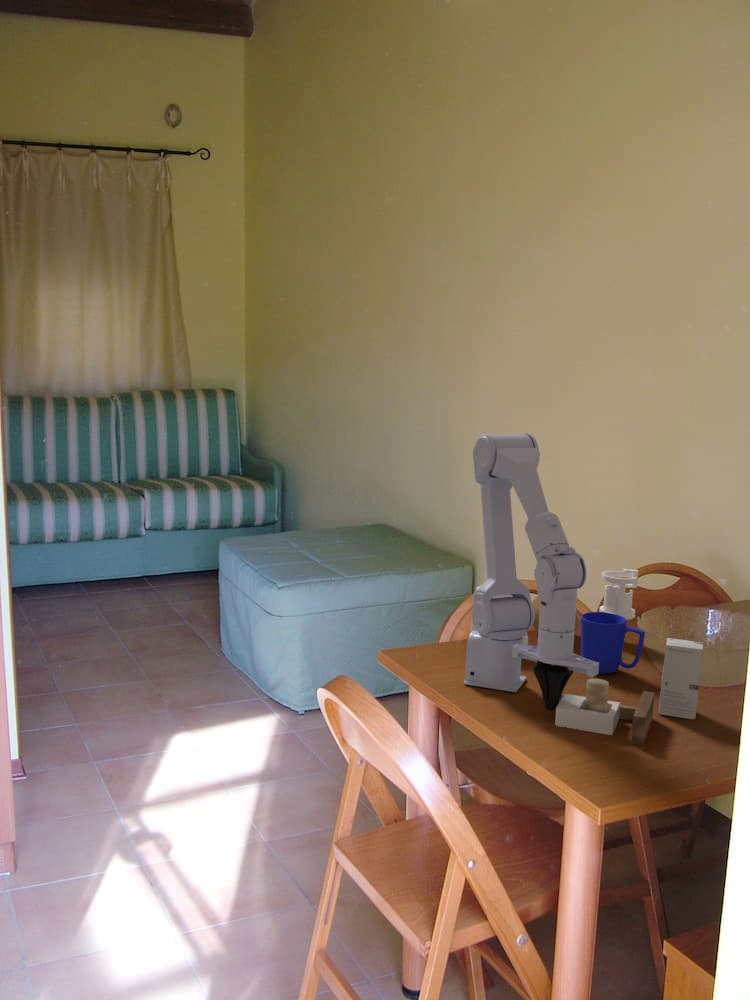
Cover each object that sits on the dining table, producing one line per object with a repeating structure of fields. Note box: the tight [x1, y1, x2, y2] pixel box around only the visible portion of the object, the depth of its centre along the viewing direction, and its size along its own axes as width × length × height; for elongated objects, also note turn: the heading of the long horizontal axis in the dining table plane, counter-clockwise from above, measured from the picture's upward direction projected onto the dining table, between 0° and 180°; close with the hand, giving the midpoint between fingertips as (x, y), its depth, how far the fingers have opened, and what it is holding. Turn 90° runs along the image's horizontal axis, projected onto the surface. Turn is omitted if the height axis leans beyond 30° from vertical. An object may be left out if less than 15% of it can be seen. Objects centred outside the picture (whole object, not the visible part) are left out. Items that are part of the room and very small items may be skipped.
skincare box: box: [658, 637, 705, 720], centre depth 173 cm, size 6×4×12 cm
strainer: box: [598, 568, 639, 621], centre depth 211 cm, size 7×7×15 cm
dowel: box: [585, 678, 610, 713], centre depth 167 cm, size 3×3×6 cm
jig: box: [559, 690, 656, 747], centre depth 167 cm, size 15×12×4 cm
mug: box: [580, 611, 646, 675], centre depth 192 cm, size 8×12×10 cm
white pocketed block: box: [554, 693, 621, 736], centre depth 168 cm, size 9×7×3 cm
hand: (551, 708), depth 170 cm, fingers closed
